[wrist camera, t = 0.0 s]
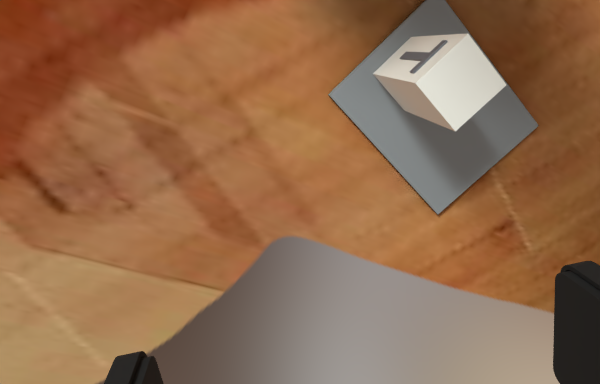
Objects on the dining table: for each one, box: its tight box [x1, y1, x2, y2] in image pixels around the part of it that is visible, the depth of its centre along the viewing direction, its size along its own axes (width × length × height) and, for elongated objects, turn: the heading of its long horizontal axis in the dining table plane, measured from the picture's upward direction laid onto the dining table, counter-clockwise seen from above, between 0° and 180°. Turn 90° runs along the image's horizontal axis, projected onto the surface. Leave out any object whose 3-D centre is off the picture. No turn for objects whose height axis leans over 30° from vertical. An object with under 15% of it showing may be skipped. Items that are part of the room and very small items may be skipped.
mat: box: [328, 0, 539, 214], centre depth 47 cm, size 18×14×1 cm
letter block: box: [373, 34, 506, 131], centre depth 39 cm, size 5×5×12 cm
